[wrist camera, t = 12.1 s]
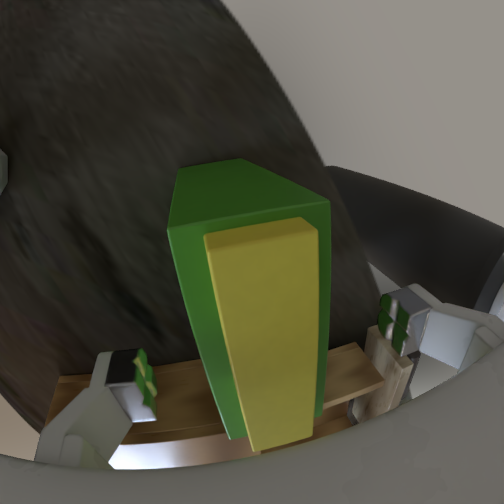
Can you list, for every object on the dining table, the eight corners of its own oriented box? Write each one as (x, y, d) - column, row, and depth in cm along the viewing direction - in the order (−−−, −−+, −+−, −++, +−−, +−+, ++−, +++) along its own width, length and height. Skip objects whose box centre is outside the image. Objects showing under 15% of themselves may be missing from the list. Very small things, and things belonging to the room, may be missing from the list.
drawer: (411, 311, 26) (448, 345, 20) (388, 395, 31) (411, 427, 26) (209, 370, 23) (219, 427, 17) (234, 445, 28) (245, 487, 23)
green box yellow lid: (241, 157, 18) (351, 210, 6) (257, 283, 22) (331, 433, 10) (177, 168, 17) (163, 244, 6) (202, 294, 21) (233, 460, 9)
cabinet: (234, 351, 24) (255, 426, 17) (253, 437, 30) (270, 491, 23) (59, 375, 21) (40, 441, 14) (121, 453, 27) (120, 505, 20)
